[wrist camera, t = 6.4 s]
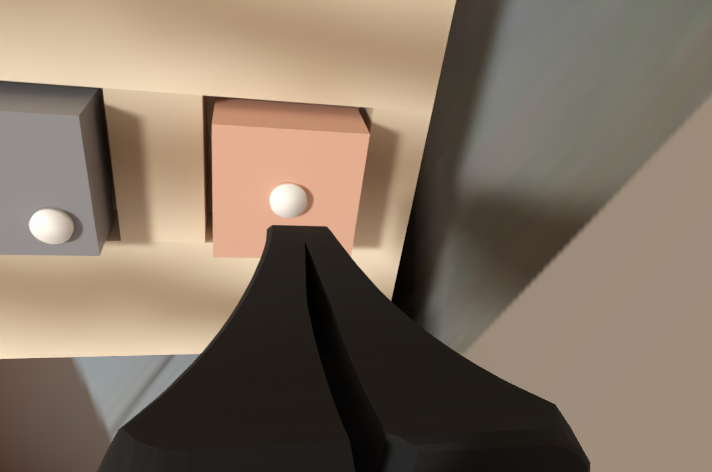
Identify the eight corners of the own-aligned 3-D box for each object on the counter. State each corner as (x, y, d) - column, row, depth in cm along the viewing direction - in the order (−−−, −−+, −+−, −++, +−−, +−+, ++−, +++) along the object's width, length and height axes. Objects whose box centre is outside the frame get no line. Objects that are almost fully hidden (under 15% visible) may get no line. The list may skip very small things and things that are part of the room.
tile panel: (368, 307, 22) (380, 349, 20) (-286, 312, 17) (-354, 367, 15) (442, -84, 15) (472, -78, 13) (-662, -256, 10) (-883, -288, 8)
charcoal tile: (114, 218, 16) (97, 260, 14) (-35, 214, 15) (-72, 258, 14) (98, 88, 14) (76, 118, 12) (-76, 75, 13) (-127, 106, 11)
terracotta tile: (341, 223, 18) (351, 262, 16) (216, 220, 17) (212, 261, 15) (357, 107, 16) (371, 137, 14) (215, 97, 15) (211, 127, 13)
